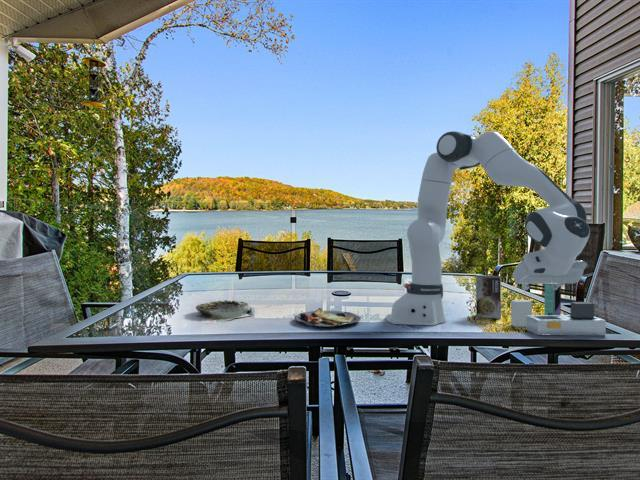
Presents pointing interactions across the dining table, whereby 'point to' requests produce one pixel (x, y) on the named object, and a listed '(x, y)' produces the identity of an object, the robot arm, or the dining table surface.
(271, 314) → the dining table surface
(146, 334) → the dining table surface
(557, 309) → the spray can
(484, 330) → the dining table surface
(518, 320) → the panel
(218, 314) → the grey round shallow dish
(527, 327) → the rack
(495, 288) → the coffee box
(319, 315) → the food plate
